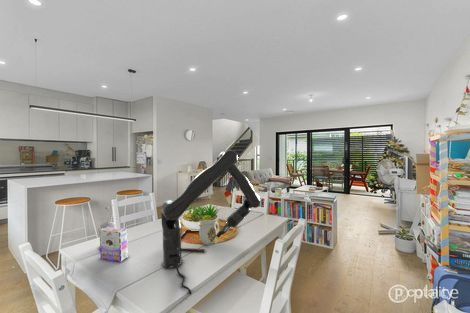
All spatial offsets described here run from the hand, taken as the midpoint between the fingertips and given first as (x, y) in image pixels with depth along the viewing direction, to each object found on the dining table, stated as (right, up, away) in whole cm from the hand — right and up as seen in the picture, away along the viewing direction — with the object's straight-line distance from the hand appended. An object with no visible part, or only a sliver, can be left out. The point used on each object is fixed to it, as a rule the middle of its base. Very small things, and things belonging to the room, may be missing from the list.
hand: (217, 236), depth 140 cm
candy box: (-56, -5, -19) cm, 59 cm away
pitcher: (-5, -4, +1) cm, 7 cm away
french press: (-68, -5, -6) cm, 68 cm away
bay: (-16, -4, +2) cm, 16 cm away
